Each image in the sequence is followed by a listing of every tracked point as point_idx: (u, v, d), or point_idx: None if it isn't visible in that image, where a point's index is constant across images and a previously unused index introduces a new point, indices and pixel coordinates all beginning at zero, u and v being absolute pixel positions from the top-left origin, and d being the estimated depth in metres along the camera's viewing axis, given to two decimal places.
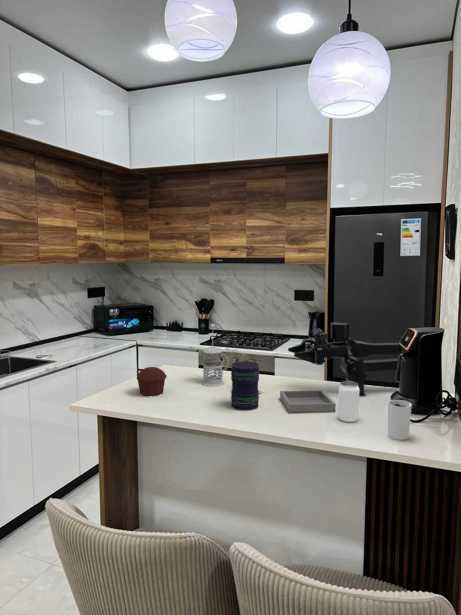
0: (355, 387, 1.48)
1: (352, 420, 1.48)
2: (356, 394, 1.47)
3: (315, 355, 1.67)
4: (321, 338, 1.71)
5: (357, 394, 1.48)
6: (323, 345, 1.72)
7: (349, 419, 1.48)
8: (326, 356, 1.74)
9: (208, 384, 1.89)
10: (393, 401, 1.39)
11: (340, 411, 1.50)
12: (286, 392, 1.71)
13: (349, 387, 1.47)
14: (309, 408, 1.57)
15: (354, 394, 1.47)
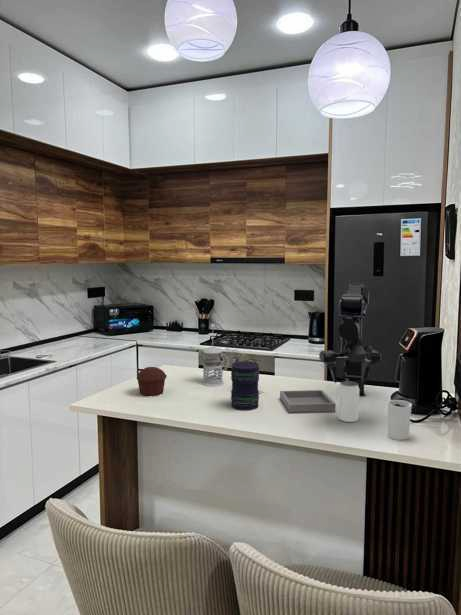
0: (355, 387, 1.48)
1: (352, 420, 1.48)
2: (356, 394, 1.47)
3: None
4: None
5: (357, 394, 1.48)
6: None
7: (349, 419, 1.48)
8: None
9: (208, 384, 1.89)
10: (393, 401, 1.39)
11: (340, 411, 1.50)
12: (286, 392, 1.71)
13: (349, 387, 1.47)
14: (309, 408, 1.57)
15: (354, 394, 1.47)
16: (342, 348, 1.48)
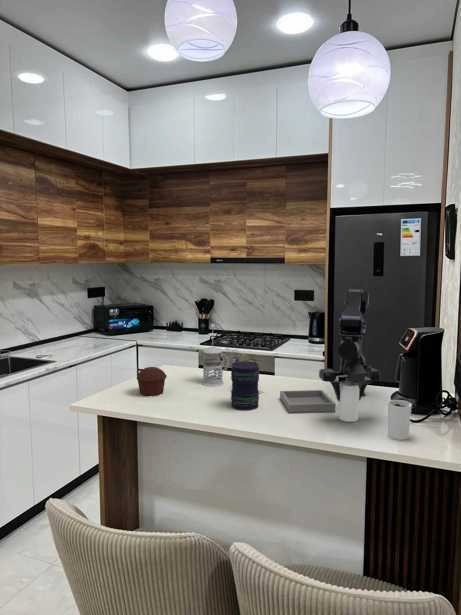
0: (355, 387, 1.48)
1: (352, 420, 1.48)
2: (356, 394, 1.48)
3: None
4: None
5: (357, 394, 1.48)
6: None
7: (349, 419, 1.48)
8: None
9: (208, 384, 1.89)
10: (393, 401, 1.39)
11: (340, 411, 1.50)
12: (286, 392, 1.71)
13: (349, 387, 1.47)
14: (309, 408, 1.57)
15: (354, 394, 1.47)
16: (342, 367, 1.49)
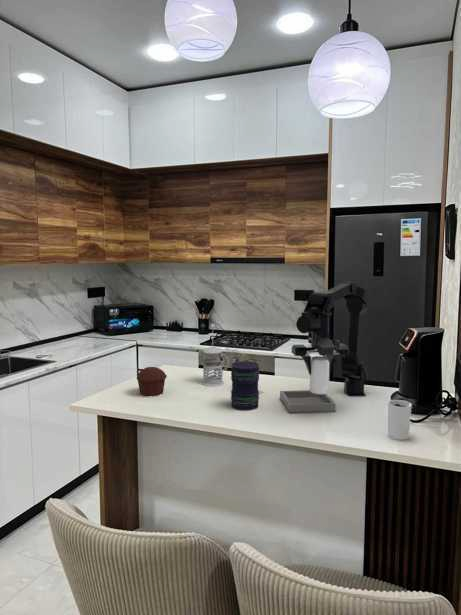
0: (325, 361, 1.57)
1: (322, 392, 1.57)
2: (326, 367, 1.56)
3: None
4: None
5: (327, 368, 1.57)
6: None
7: (320, 391, 1.57)
8: None
9: (208, 384, 1.89)
10: (393, 401, 1.39)
11: (311, 384, 1.59)
12: (286, 392, 1.71)
13: (319, 361, 1.56)
14: (309, 408, 1.57)
15: (324, 367, 1.56)
16: (312, 342, 1.57)
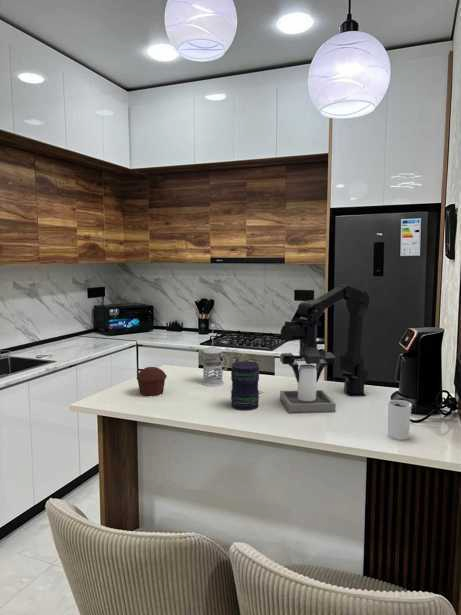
0: (312, 369, 1.61)
1: (310, 400, 1.62)
2: (313, 375, 1.61)
3: None
4: None
5: (314, 376, 1.62)
6: None
7: (307, 399, 1.62)
8: None
9: (208, 384, 1.89)
10: (393, 401, 1.39)
11: (299, 392, 1.63)
12: (286, 392, 1.71)
13: (307, 369, 1.61)
14: (309, 408, 1.57)
15: (311, 375, 1.61)
16: (300, 351, 1.62)
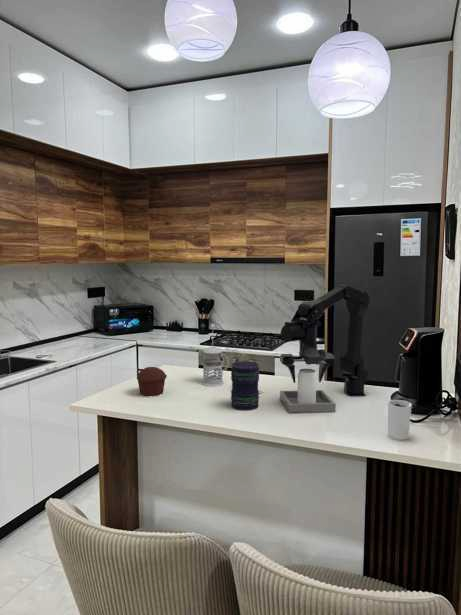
0: (312, 374, 1.61)
1: None
2: (312, 380, 1.61)
3: None
4: None
5: (314, 380, 1.62)
6: None
7: None
8: None
9: (208, 384, 1.89)
10: (393, 401, 1.39)
11: (299, 396, 1.64)
12: (286, 392, 1.71)
13: (306, 374, 1.61)
14: (309, 408, 1.57)
15: (310, 380, 1.61)
16: (300, 351, 1.62)
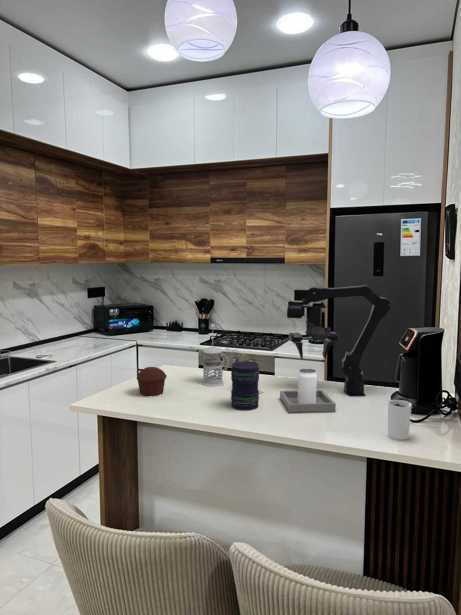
0: (312, 374, 1.62)
1: None
2: (313, 380, 1.61)
3: None
4: None
5: (314, 380, 1.62)
6: None
7: None
8: None
9: (208, 384, 1.89)
10: (393, 401, 1.39)
11: (299, 396, 1.64)
12: (286, 392, 1.71)
13: (307, 374, 1.61)
14: (309, 408, 1.57)
15: (311, 380, 1.61)
16: (307, 330, 1.79)
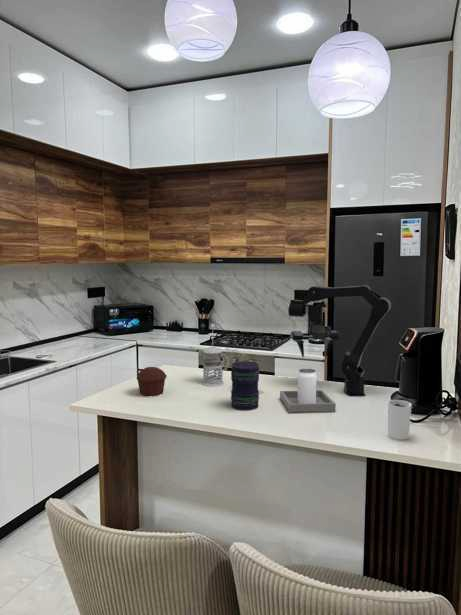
0: (312, 374, 1.62)
1: None
2: (312, 380, 1.61)
3: None
4: None
5: (314, 380, 1.62)
6: None
7: None
8: None
9: (208, 384, 1.89)
10: (393, 401, 1.39)
11: (299, 396, 1.64)
12: (286, 392, 1.71)
13: (306, 374, 1.61)
14: (309, 408, 1.57)
15: (310, 380, 1.61)
16: (308, 329, 1.82)
